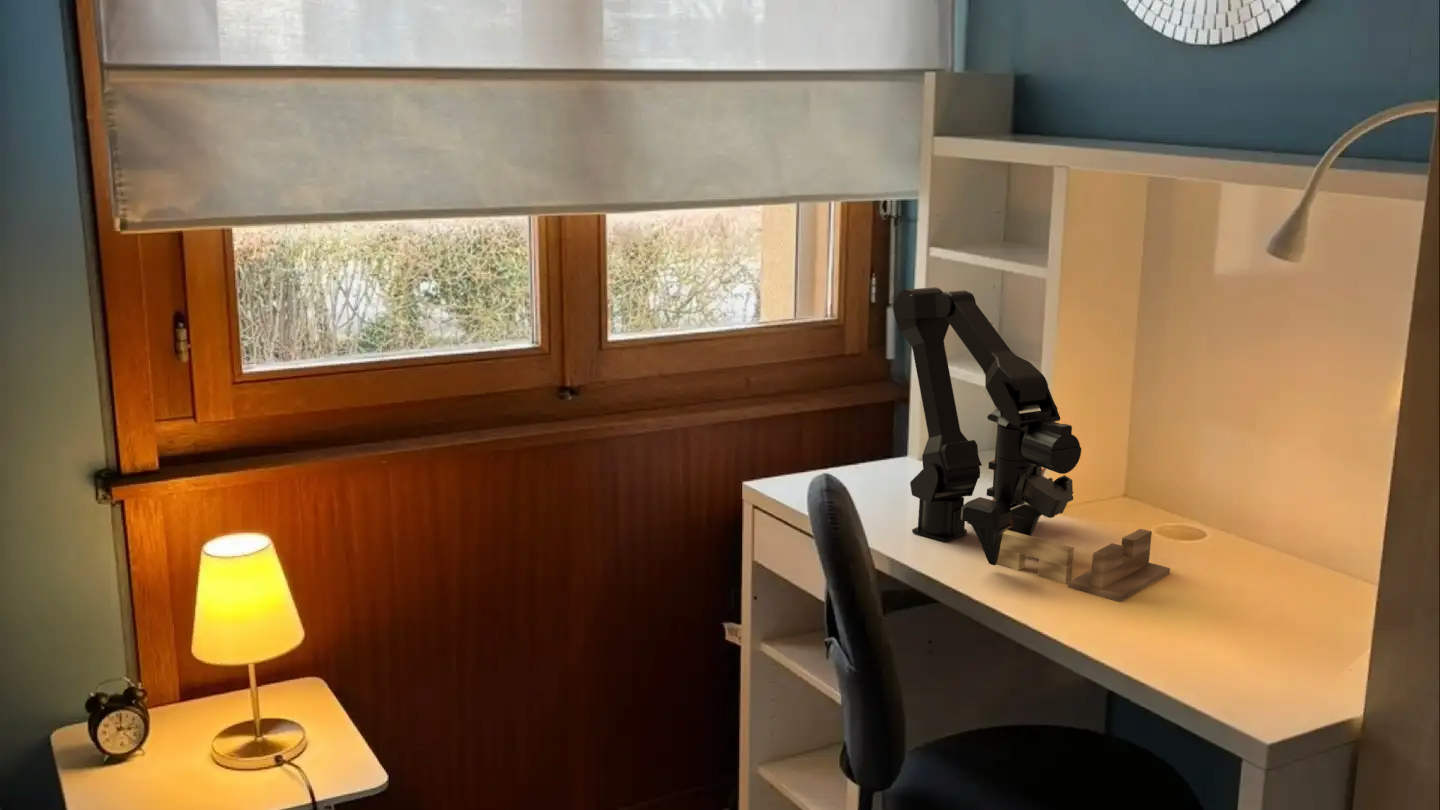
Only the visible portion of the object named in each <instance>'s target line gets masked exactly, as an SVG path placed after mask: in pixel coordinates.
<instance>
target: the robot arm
mask: <svg viewBox="0 0 1440 810" xmlns="http://www.w3.org/2000/svg"><path fill="white" fill-rule="evenodd" d="M892 310H893V315H894V319H895V321H896V325H897V328H898V331H899V333H900V334H901V336H902V337H903V338H904V339H905V341H906V342H907V343H908V344H909V345H910V346H911V349H912V353H913V359H914V364H915V370H916V375H917V380H918V386H919V392H920V396H921V402H922V407H923V413H924V419H925V424H926V425H925V426H926V430H927V435H928V436H927V437H928V438H927V441H926V444H925V447H924V449H923V452H922V456H921V457H922V458H921V459H922V469H921V470H920V472H919V473H917V475H916V476H914V478H913V479H912V480H911V481H910V483H909V485H910V492H911V495H912V496H913V497H915V498H917V499H919V503H918V504H919V505H918V520H917V526H916V527H914V528H912V529H911V532H912V533H913V534H917V535H919V536H923V537H928V538H931V539H933V540H934V539H935V540H938V541H942V542H949V541H951V540H953V539H956V538H959V537H960V536H962V535H965V534H967V533H968V529H967V528H965V526H966V523H967V524H968V525H971V527H972V529H973V531H974V533H975V536H976V537H977V539H978V542H979V543H980V546H981V548H982V551H983V553H984V556H985V558H986V560H987V563H988V564H989V565H992V566H996V565H998V564H997V560H998V556H999V551H1000V546H1001V540H1002V535H1003V533H1004V532H1005V531H1006V530H1009V528H1010V527H1011V526H1012V525H1011V524H1008V523H1009V521H1010V519H1011V515H1012V521H1013V527H1014V530H1013V532H1017V533H1021V534H1025V535H1029V536H1032V537H1033V534H1034V533H1033V532H1034V530H1035V528H1036V527H1037V526H1036V525H1037V523H1038V521H1039V519H1040V517H1041V516H1043V517H1045V518H1049V519H1052V518H1055V516H1057V515H1059V514H1060V515H1061V514H1063V513H1064V511H1065V509H1066V506H1067V505H1068V503H1070V502H1071V501H1073V500H1074V495H1073V494H1074V491H1073V490H1074V489H1073V488H1074V487H1073V479H1071V477H1069V476H1067V475H1066V474H1068V473H1070V472H1071V471H1073V470H1074V469H1075V468H1076V467H1077V464H1078V463H1079V461H1080V459H1081V454H1082V447H1081V443H1080V441H1079V439H1078V438H1077V436H1075V435H1074V434H1072V432H1073V431H1072V430H1073V425H1071V424H1068V423H1061V422H1060V423H1059V421H1061V416H1060V414H1059V413H1060V412H1059V410H1058V409H1059V408H1058V407H1057V404H1056V403H1055V400H1054V399H1053V396H1052V393H1051V391H1050V388H1049V383H1048V381H1047V379H1046V377H1045V376H1044V375H1043V373H1042V372H1041V371H1040V370H1039V369H1037V368H1036V367H1035V366H1034V365H1033V364H1032V363H1031V362H1030V361H1028V360H1026V359H1024V358H1022V357H1020V356H1018V355H1017V354H1015V353H1014V352H1013V351H1012V350H1011V349H1010V347H1009V345H1007V344H1006V342H1005V341H1004V339H1003V337H1001V335H1000V334H999V332H998V331H997V330H996V329H995V327H994V326H993V325H992V323H991V322H990V321H989V319H988V318H987V316H986V315H985V314H984V313H983V311H982V310H981V309H980V307H979V306H978V305H977V303H976V298H975V296H974V294H973V293H972V292H969V291H967V290H955V291H954V290H953V291H952V290H951V291H943V290H941V288H939V287H924V288H923V287H922V288H909V289H908V288H907V289H902V290H901V291H899V292H898V294H897V296H896V298H895V299H894V301H893V304H892ZM949 327H951V328H952V329H953V330H954V332H955V334H956V335H957V336H958V337H959V339H960V340H961V342H962V343H963V345H964V346H965V348H967V350H968V351H969V353H970V354H971V355H972V357H973V359H974V360H975V362H976V363H977V364H978V366H979V367H980V369H981V370H982V371H983V373H984V376H985V381H984V383H985V384H984V385H985V386H984V387H985V389H986V391H987V393H988V395H989V396H990V399H991V401H992V403H993V404H994V406H995V408H996V409H995V410H994V411H992V412H991V413H989V414H988V415H987V420H988V421H991V422H994V423H996V424H997V425H996V434H995V435H996V437H995V438H996V439H995V451H994V452H995V453H994V459H995V460H993V459H992V460H993V461H992V460H991V461H989V462H988V470H992V471H993V470H994V475H993V478H992V479H993V480H992V486H991V487H989V488H986V497H987V496H988V497H991V498H993V497H994V500H996V501H994V500H993V499H989V498H986V497H980V496H978V497H976V498H974V499H972V500H969V501H967V502H964V501H965V497H973V494H974V492H975V491H974V490H975V489H976V486H977V483H978V479H980V478H981V466H983V465H982V462H981V460H980V456H979V449H978V444H977V442H976V440H975V439H971V440H969V439H968V438H967V437H966V436H965V435H964V434H963V432H962V430H961V426H960V421H959V416H958V411H957V405H956V399H955V394H954V388H953V383H952V379H951V377H952V376H951V373H950V367H949V362H948V357H947V351H946V345H945V339H946V336H947V332H948V330H949ZM1038 409H1039V410H1038ZM1033 410H1034V411H1033ZM1026 411H1027V412H1026ZM1028 411H1029V412H1028ZM1042 467H1043V468H1046V470H1049V471H1051V472H1055V473H1057V474H1061V476H1058V477H1057V478H1056V479H1055V480H1054V479H1053V478H1052V477H1049V478H1048V477H1046V476H1042V475H1041V470H1042ZM1063 474H1064V475H1063Z"/></svg>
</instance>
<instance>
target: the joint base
mask: <svg viewBox="0 0 1440 810" xmlns="http://www.w3.org/2000/svg"><path fill="white" fill-rule="evenodd" d="M1152 533H1153V531H1152V530H1147V529H1143V528H1138V529H1137V530H1135V531H1132V533H1130V534H1128V535H1125V536H1123V537H1121V538H1122V539H1121V544H1117V543H1114V542H1112V543H1109V544H1108V545H1106V546H1103V547H1102V548H1100V549H1098V550H1096V551H1094V552H1092V561H1091V569H1090V570H1088V571H1086V572H1084V573H1083V574H1080V575H1078V576H1076V577H1074V578H1073V579H1071V581H1069V582H1067V583H1068V584H1067V588H1069V589H1073V590H1077V591H1080V592H1084V593H1088V594H1090V595H1091V594H1092V595H1095V596H1098V597H1101V598H1105V599H1108V600H1109V599H1110V600H1113V601H1116V602H1119V603H1122V602H1123V601H1125V600H1126V599H1128V598H1130V597H1131V596H1133V595H1134V594H1136V593H1138V592H1140V591H1141V590H1143V589H1145V588H1147V587H1148V586H1151V585H1152V584H1154V583H1155V582H1157V581H1158V580H1160V579H1162V578H1164V577H1166V576H1167V575H1169V574H1170V573H1171V572H1170V571H1171V567H1168V566H1165V565H1160V564H1156V563H1152V562H1150V554H1151V552H1150V551H1151V543H1152Z"/></svg>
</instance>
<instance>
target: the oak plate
mask: <svg viewBox="0 0 1440 810" xmlns="http://www.w3.org/2000/svg"><path fill="white" fill-rule="evenodd" d="M1074 553H1075V547H1074V546H1071V545H1066V544H1063V543H1059V542H1054V541H1051V540H1047V539H1043V538H1039V537H1036V536H1033V535H1032V536H1029V535H1025V534H1021V533H1017V532H1014V530H1009V529H1007V530H1006V531H1005V532H1004V533H1003V535H1002V540H1001V546H1000V551H999V556H998V560H997V564H996V565H998V566H1002V567H1006V568H1010V569H1011V570H1016V571H1019V570H1021V569H1023V568H1025V564H1026V563H1025V562H1026V556H1027V557H1030V558H1031V557H1032V558H1035V559H1038V568H1037V576H1038V577H1041V578H1045V579H1049V580H1052V581H1054V582H1055V581H1056V582H1059V583H1061V584H1067V583H1068V582H1069V581H1071V580H1072V577H1073V576H1072V574H1073V563H1074Z"/></svg>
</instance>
